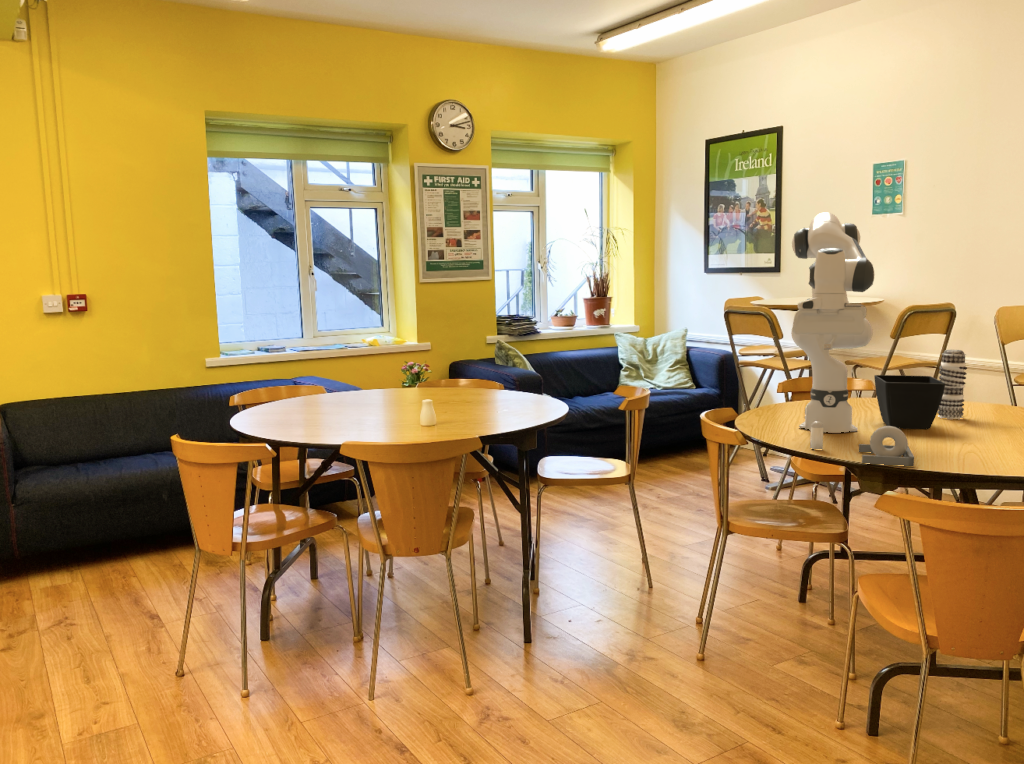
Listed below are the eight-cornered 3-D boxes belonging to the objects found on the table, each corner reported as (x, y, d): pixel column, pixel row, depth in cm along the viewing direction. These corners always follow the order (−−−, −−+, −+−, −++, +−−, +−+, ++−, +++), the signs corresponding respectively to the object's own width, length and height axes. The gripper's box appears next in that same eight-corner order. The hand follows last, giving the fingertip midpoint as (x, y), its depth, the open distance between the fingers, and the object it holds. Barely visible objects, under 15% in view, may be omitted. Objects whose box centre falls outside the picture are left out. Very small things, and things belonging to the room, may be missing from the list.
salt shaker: (810, 447, 258) (811, 419, 256) (822, 448, 256) (823, 420, 255) (810, 450, 254) (811, 421, 253) (822, 450, 253) (823, 422, 252)
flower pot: (943, 431, 281) (946, 382, 279) (883, 430, 285) (886, 381, 283) (927, 422, 299) (930, 375, 297) (871, 420, 303) (873, 374, 301)
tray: (858, 452, 251) (859, 442, 250) (906, 454, 246) (907, 444, 246) (862, 464, 235) (862, 453, 235) (913, 467, 231) (914, 456, 230)
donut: (907, 460, 239) (909, 426, 238) (906, 463, 236) (908, 428, 235) (869, 457, 244) (871, 423, 242) (868, 459, 241) (869, 425, 239)
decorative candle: (957, 415, 312) (961, 349, 309) (968, 419, 303) (972, 351, 300) (932, 415, 313) (935, 349, 310) (942, 419, 304) (946, 351, 301)
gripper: (866, 302, 247) (864, 349, 249) (793, 302, 254) (792, 347, 256) (867, 303, 241) (865, 351, 243) (793, 303, 248) (791, 349, 250)
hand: (827, 349), depth 250 cm, fingers closed
